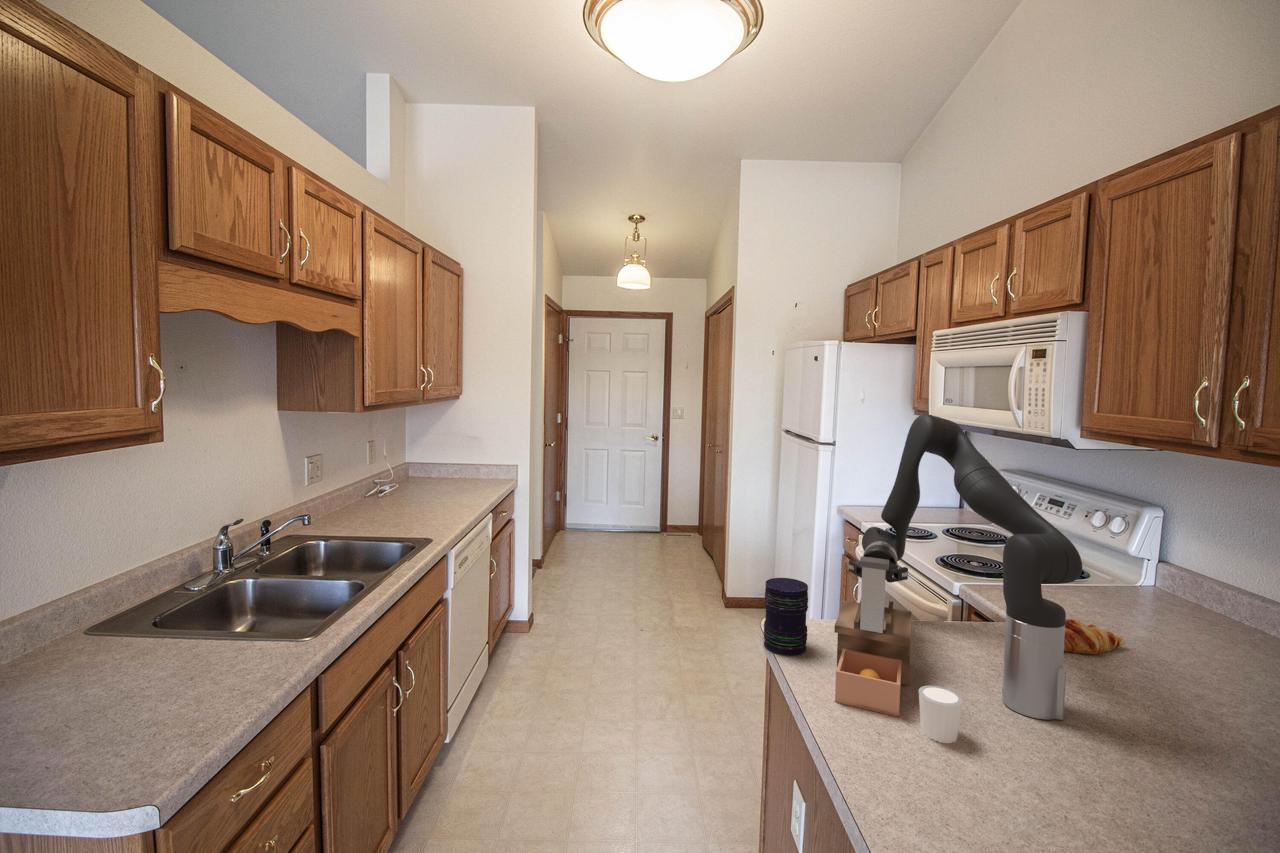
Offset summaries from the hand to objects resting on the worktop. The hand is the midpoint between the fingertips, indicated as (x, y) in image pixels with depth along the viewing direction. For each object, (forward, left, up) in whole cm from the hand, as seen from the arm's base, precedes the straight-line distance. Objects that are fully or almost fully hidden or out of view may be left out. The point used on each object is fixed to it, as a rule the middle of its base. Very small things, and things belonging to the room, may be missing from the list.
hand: (875, 580), depth 120 cm
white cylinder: (-12, +18, -20) cm, 30 cm away
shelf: (0, 0, -20) cm, 20 cm away
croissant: (-43, -37, -20) cm, 60 cm away
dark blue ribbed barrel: (+19, -4, -20) cm, 28 cm away
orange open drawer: (0, +10, -20) cm, 22 cm away
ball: (0, +9, -17) cm, 19 cm away
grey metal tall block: (0, +7, -8) cm, 10 cm away
